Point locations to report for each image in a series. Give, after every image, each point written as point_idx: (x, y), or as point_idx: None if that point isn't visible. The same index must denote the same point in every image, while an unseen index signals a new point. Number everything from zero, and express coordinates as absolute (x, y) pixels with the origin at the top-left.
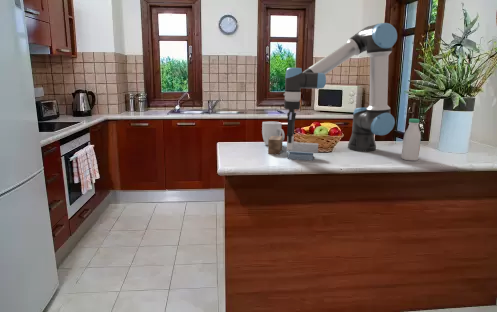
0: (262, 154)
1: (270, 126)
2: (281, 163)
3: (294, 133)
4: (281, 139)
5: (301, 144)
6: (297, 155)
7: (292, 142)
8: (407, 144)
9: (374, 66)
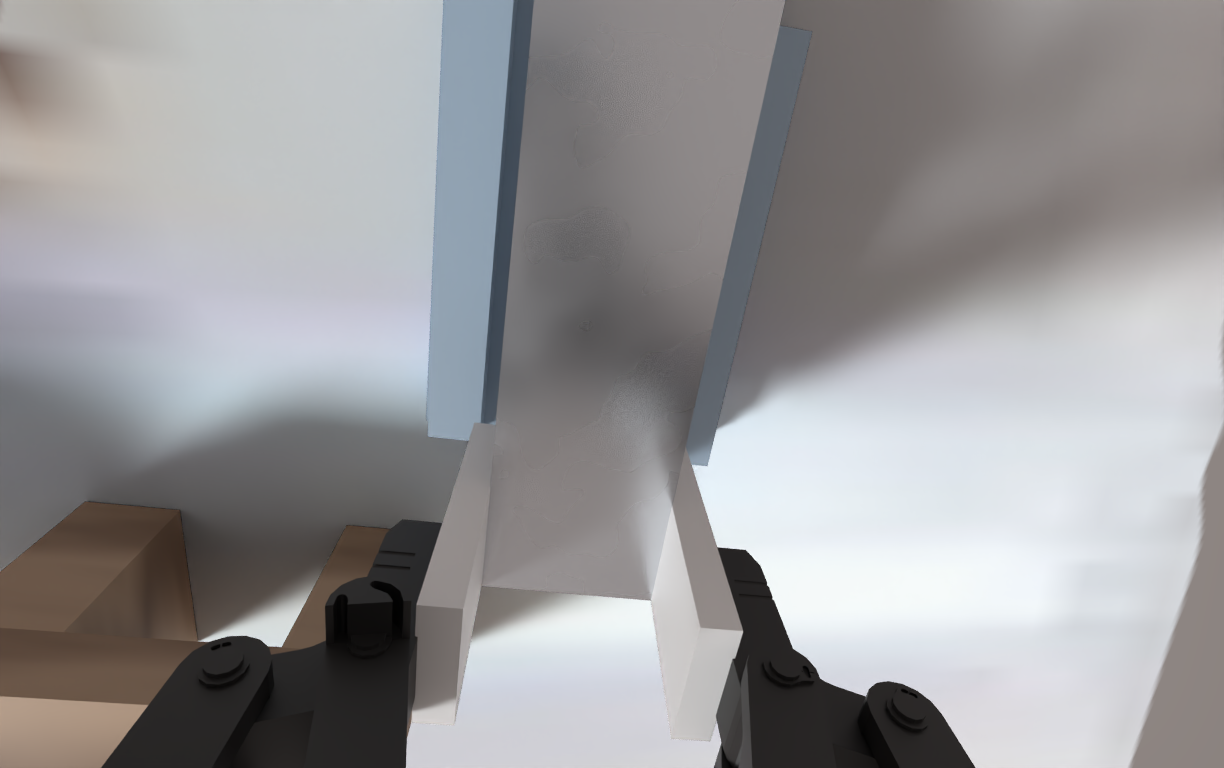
0: (484, 707)
1: None
2: (959, 508)
3: (391, 615)
4: (129, 676)
5: (712, 317)
6: (739, 322)
7: (708, 527)
8: None
9: None
